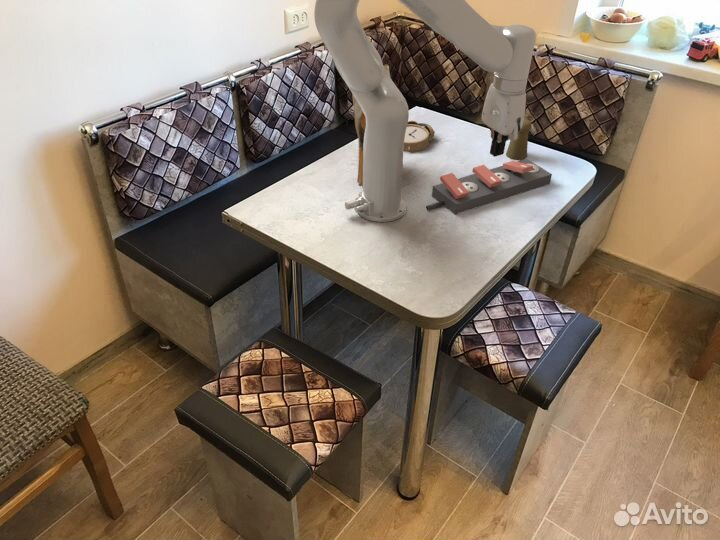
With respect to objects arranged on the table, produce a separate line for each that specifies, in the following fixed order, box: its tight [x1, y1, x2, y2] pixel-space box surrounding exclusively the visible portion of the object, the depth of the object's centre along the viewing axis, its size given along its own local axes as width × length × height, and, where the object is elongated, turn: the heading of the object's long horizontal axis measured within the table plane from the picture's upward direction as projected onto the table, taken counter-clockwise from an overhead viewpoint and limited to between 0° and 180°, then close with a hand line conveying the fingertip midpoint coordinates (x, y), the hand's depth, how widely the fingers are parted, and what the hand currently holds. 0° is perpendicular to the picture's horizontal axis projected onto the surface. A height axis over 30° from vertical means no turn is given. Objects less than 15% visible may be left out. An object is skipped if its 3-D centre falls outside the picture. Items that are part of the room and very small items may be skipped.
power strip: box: [425, 158, 553, 215], centre depth 162 cm, size 37×10×3 cm, turn 120°
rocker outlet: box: [502, 160, 533, 173], centre depth 165 cm, size 4×8×2 cm, turn 30°
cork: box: [505, 118, 532, 161], centre depth 177 cm, size 6×6×11 cm
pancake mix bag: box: [351, 63, 392, 185], centre depth 162 cm, size 7×19×28 cm, turn 143°
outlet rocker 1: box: [439, 172, 469, 199], centre depth 157 cm, size 4×8×2 cm, turn 30°
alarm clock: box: [403, 120, 436, 153], centre depth 185 cm, size 11×5×15 cm
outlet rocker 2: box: [471, 164, 502, 188], centre depth 161 cm, size 4×8×2 cm, turn 30°
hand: (496, 154), depth 154 cm, fingers closed
